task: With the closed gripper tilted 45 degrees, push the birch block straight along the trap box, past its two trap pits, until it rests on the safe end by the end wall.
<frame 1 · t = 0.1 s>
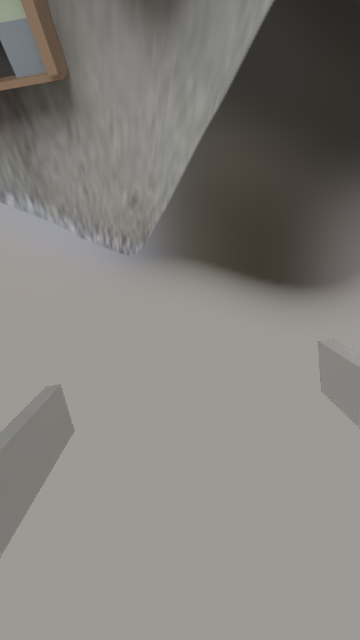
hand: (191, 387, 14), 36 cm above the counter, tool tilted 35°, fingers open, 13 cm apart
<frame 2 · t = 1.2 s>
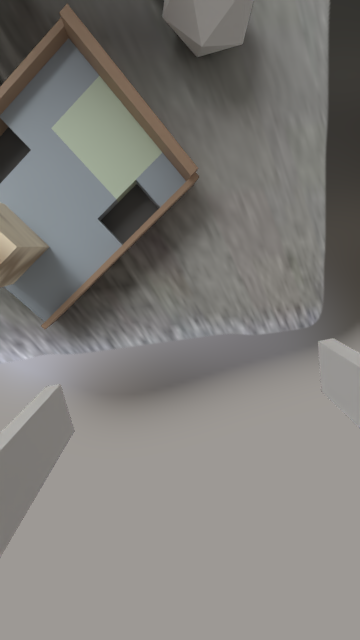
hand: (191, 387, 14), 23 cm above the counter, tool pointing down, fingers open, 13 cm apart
die: (202, 26, 30), on the counter
trap box: (65, 196, 32), on the counter
block: (9, 245, 31), point 2 cm above the counter, touching trap box
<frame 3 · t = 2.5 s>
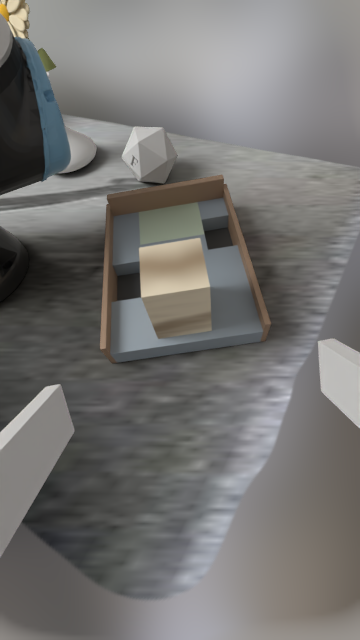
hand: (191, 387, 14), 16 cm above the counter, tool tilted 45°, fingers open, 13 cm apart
die: (154, 178, 51), on the counter
trap box: (177, 273, 39), on the counter
block: (181, 312, 32), point 2 cm above the counter, touching trap box
flower in vase: (75, 164, 56), on the counter
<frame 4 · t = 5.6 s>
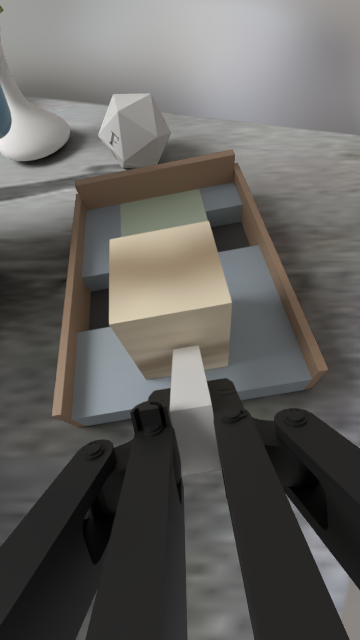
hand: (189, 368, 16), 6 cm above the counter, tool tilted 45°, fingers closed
die: (142, 164, 40), on the counter
trap box: (174, 286, 28), on the counter
block: (181, 336, 22), point 3 cm above the counter, touching gripper
flower in vase: (44, 151, 45), on the counter
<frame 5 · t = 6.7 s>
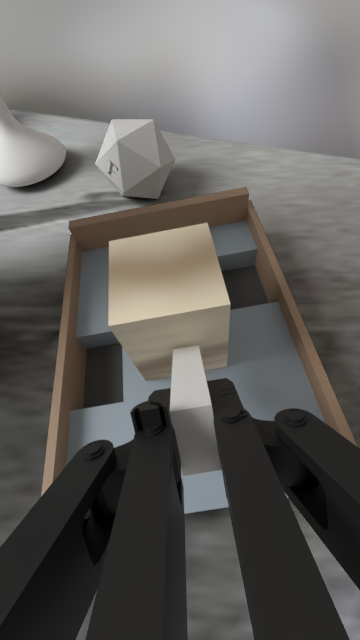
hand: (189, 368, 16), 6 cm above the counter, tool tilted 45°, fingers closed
die: (144, 191, 37), on the counter
trap box: (180, 344, 24), on the counter
block: (180, 337, 22), point 3 cm above the counter, touching gripper
flower in vase: (38, 174, 42), on the counter
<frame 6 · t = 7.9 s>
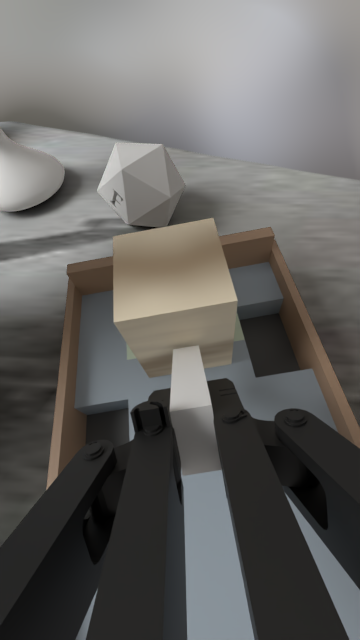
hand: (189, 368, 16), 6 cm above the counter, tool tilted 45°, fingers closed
die: (150, 218, 33), on the counter
trap box: (196, 411, 21), on the counter
block: (184, 334, 22), point 3 cm above the counter, touching trap box
flower in vase: (34, 196, 39), on the counter
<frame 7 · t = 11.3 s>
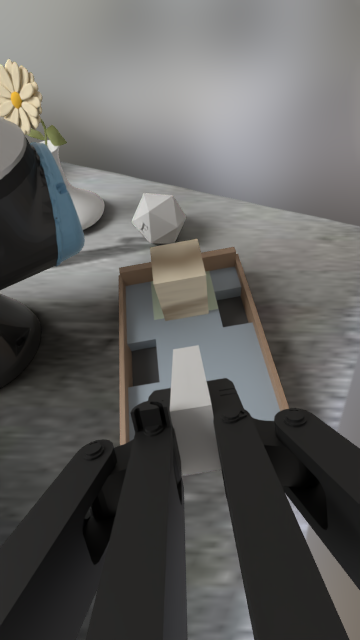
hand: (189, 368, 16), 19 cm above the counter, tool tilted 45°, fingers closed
die: (163, 237, 51), on the counter
trap box: (192, 348, 38), on the counter
block: (184, 299, 40), point 2 cm above the counter, touching trap box
flower in vase: (83, 220, 57), on the counter
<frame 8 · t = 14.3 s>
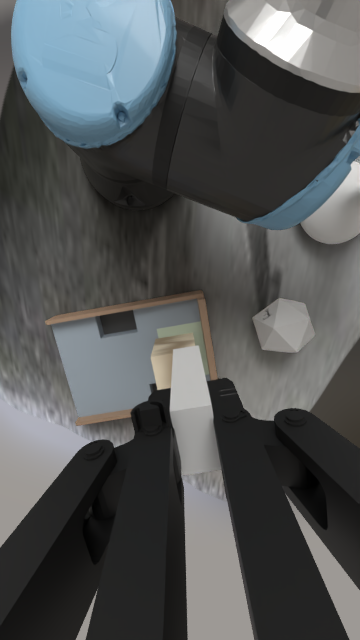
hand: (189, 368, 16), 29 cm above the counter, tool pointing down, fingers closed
die: (274, 320, 46), on the counter
trap box: (139, 354, 47), on the counter
block: (177, 353, 45), point 2 cm above the counter, touching trap box
flower in vase: (325, 210, 42), on the counter
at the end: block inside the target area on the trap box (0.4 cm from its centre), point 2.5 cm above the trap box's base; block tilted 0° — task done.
